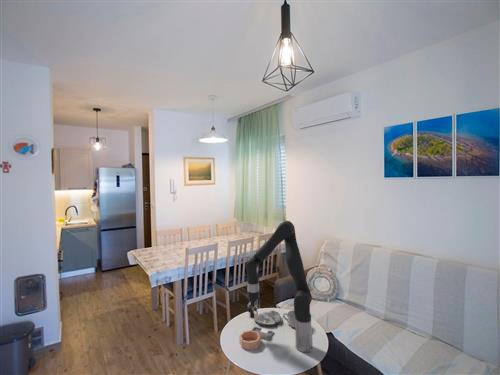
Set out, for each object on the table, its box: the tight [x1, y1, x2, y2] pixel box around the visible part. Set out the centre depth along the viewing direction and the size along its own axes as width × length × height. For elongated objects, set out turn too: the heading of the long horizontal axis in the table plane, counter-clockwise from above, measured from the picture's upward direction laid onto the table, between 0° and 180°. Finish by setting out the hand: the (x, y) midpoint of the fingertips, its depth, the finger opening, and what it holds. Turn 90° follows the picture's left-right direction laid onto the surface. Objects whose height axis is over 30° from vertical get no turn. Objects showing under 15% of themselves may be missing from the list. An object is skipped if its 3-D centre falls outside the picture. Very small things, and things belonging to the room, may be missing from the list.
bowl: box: [238, 329, 262, 351], centre depth 160 cm, size 12×12×5 cm
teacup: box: [282, 309, 295, 329], centre depth 179 cm, size 14×11×8 cm
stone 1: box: [248, 310, 259, 321], centre depth 167 cm, size 4×3×4 cm
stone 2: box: [260, 328, 270, 338], centre depth 166 cm, size 4×3×4 cm
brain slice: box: [253, 310, 282, 327], centre depth 185 cm, size 20×17×3 cm
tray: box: [251, 326, 275, 342], centre depth 169 cm, size 14×9×1 cm, turn 62°
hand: (253, 316), depth 167 cm, fingers closed on stone 1, 3 cm apart
